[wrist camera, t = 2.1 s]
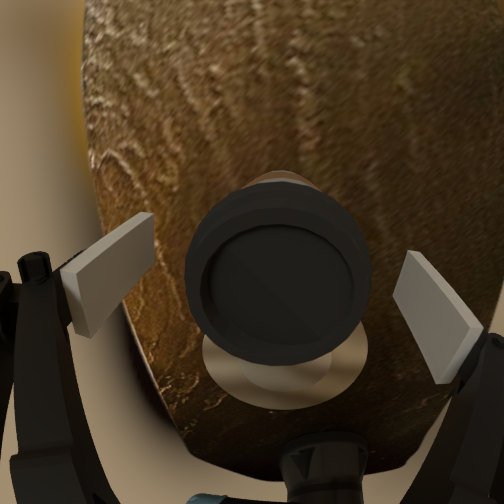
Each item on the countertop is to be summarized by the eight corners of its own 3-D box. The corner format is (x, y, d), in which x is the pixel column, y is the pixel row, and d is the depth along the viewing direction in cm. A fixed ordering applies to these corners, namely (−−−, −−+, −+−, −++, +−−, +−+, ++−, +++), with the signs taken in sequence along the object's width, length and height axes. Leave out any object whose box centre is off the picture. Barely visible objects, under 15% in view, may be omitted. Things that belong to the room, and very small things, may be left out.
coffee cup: (277, 268, 27) (268, 396, 13) (213, 203, 25) (136, 287, 12) (348, 210, 24) (415, 304, 11) (283, 137, 23) (285, 139, 9)
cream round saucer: (338, 405, 34) (339, 414, 33) (204, 389, 35) (201, 399, 34) (386, 293, 27) (391, 302, 26) (207, 269, 28) (203, 277, 26)
